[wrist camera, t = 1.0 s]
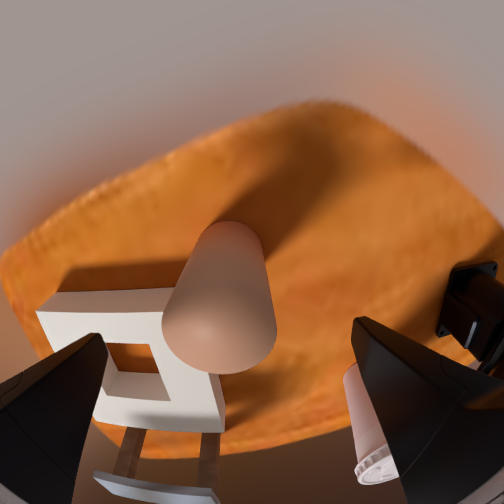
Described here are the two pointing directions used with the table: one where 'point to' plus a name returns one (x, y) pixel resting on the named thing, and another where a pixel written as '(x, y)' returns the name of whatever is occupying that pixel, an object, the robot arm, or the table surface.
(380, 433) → the smoothie
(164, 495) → the grey arch
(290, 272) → the table surface
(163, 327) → the peg
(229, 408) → the table surface
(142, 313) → the socket board
